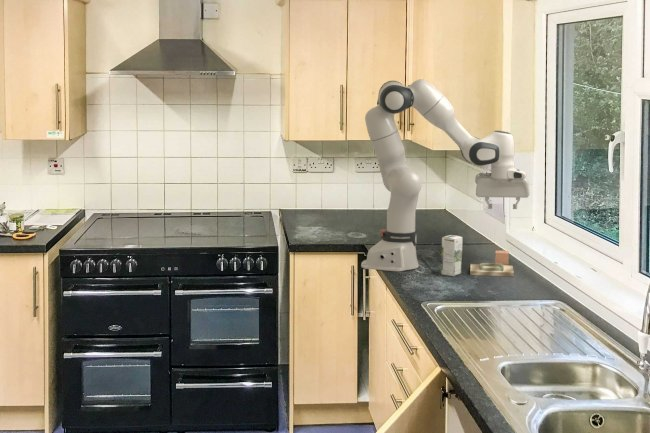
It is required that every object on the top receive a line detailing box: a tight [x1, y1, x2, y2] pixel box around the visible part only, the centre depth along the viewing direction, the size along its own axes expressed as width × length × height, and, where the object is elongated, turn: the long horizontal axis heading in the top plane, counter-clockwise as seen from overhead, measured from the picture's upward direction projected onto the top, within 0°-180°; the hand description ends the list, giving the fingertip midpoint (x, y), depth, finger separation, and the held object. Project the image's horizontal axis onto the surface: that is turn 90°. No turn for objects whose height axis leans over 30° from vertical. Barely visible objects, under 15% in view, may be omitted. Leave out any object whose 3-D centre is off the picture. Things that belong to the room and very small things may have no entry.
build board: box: [469, 262, 515, 278], centre depth 334 cm, size 16×12×2 cm
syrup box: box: [440, 234, 464, 277], centre depth 330 cm, size 6×6×14 cm
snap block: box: [494, 249, 510, 265], centre depth 343 cm, size 5×5×6 cm
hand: (502, 208), depth 339 cm, fingers open, 8 cm apart
